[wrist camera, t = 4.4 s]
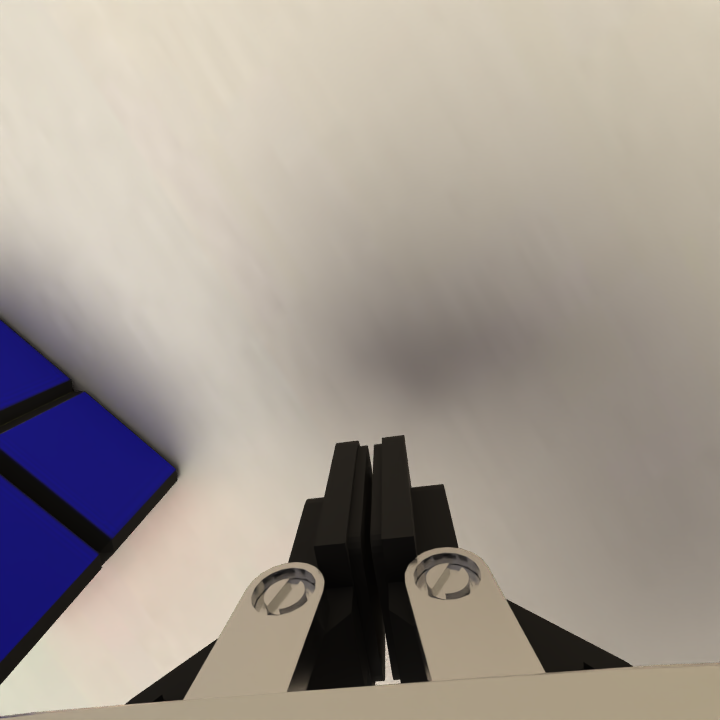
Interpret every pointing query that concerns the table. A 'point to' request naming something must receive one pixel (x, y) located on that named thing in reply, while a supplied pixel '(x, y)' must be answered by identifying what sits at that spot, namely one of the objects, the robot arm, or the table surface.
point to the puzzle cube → (60, 493)
